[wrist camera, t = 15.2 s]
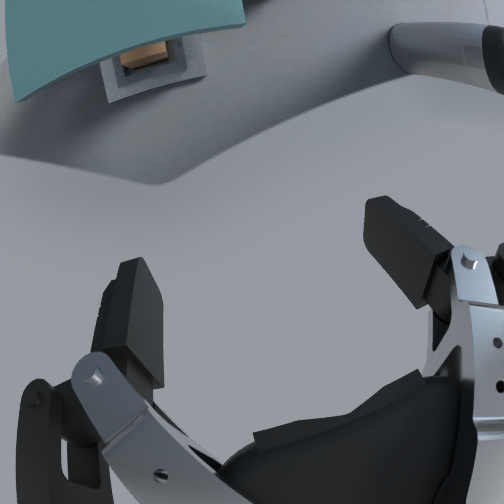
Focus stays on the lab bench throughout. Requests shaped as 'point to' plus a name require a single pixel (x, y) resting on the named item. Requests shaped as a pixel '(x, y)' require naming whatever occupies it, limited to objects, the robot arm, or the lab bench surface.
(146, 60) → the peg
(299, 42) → the lab bench surface
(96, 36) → the small shelf stand
